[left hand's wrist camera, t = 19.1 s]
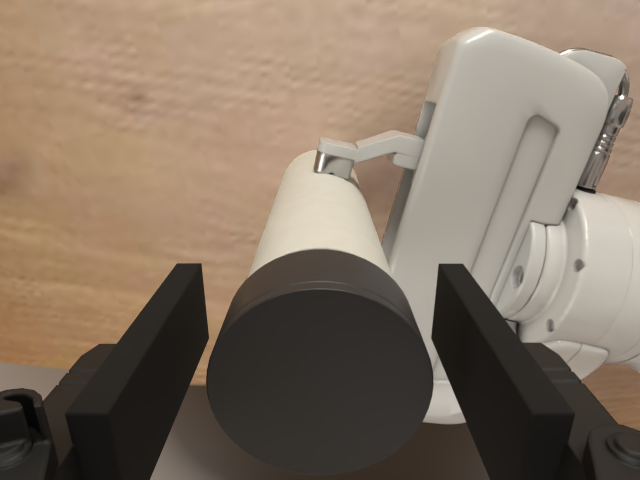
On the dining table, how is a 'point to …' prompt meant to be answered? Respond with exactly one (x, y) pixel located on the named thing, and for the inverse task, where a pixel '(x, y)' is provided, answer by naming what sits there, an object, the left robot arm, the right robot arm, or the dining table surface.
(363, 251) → the cream white bottle
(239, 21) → the dining table surface
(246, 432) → the lid
